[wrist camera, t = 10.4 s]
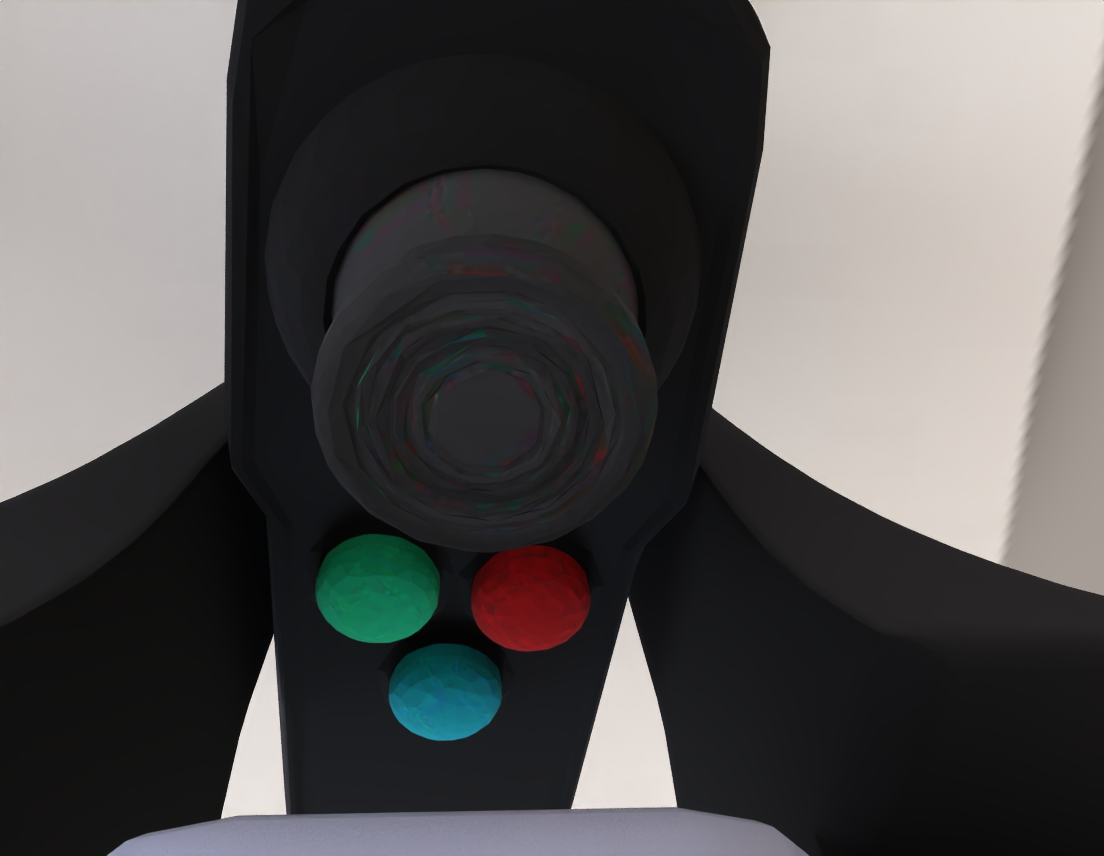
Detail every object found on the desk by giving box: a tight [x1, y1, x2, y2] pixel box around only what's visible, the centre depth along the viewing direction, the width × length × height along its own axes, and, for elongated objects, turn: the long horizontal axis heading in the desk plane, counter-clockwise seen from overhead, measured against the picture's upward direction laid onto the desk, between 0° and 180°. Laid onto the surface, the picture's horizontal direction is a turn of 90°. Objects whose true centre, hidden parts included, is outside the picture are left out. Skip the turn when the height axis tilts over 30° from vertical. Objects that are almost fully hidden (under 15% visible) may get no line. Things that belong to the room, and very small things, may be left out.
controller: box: [224, 0, 770, 815], centre depth 11 cm, size 4×12×10 cm, turn 172°
